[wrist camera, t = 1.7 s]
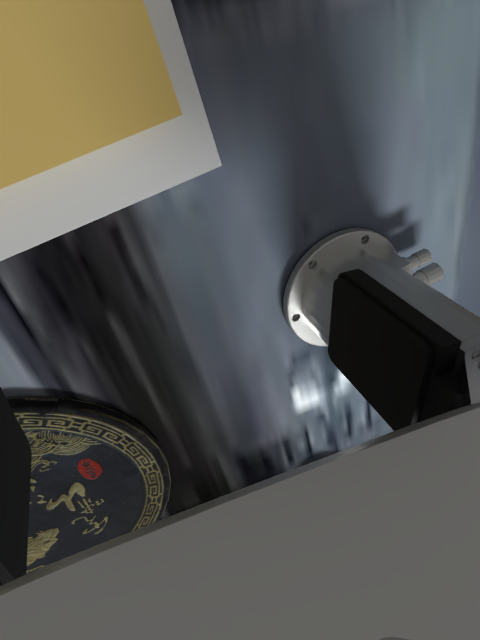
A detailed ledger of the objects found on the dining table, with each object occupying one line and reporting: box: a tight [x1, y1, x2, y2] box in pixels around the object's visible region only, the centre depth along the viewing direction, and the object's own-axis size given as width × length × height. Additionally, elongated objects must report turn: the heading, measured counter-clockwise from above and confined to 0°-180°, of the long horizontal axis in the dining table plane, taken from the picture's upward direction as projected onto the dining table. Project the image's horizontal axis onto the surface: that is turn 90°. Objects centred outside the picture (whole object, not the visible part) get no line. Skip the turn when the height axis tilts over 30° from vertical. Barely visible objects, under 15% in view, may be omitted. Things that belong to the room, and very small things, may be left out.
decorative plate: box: [6, 396, 171, 574], centre depth 41 cm, size 30×2×30 cm
